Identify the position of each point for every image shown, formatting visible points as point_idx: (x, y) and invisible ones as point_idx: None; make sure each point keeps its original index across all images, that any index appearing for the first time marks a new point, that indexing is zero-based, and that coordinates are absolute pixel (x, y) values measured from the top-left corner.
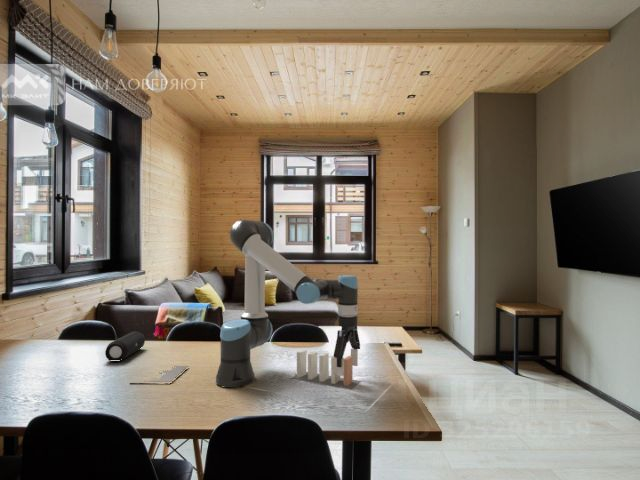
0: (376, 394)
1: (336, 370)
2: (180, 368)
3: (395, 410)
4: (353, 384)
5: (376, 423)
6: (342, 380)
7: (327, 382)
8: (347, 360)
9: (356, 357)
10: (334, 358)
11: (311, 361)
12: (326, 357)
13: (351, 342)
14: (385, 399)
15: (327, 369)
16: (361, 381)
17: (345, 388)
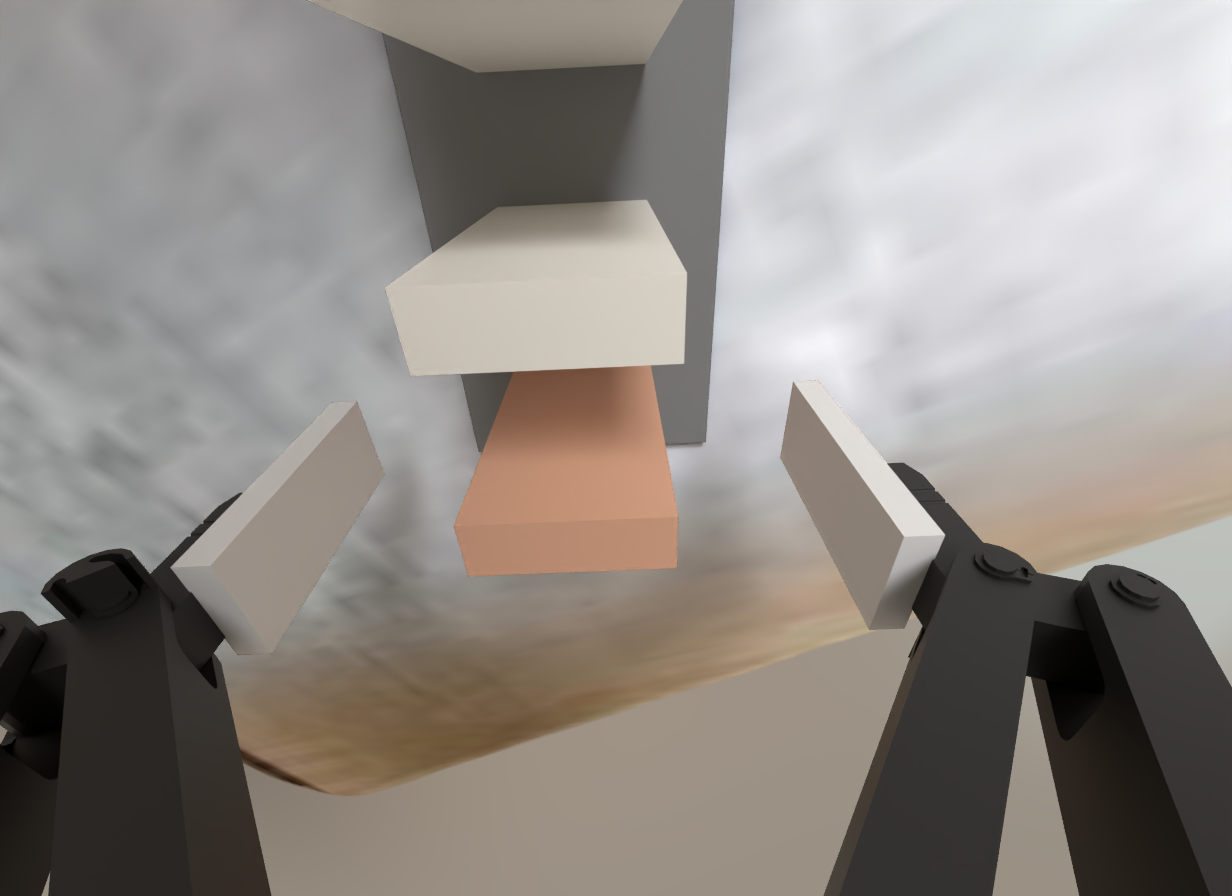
0: (526, 588)
1: (301, 434)
2: None
3: (393, 698)
4: None
5: None
6: None
7: (491, 147)
8: (477, 565)
9: (819, 525)
10: (412, 360)
11: None
12: (552, 5)
13: (887, 740)
14: (487, 640)
15: (611, 47)
16: (700, 441)
17: (467, 399)
